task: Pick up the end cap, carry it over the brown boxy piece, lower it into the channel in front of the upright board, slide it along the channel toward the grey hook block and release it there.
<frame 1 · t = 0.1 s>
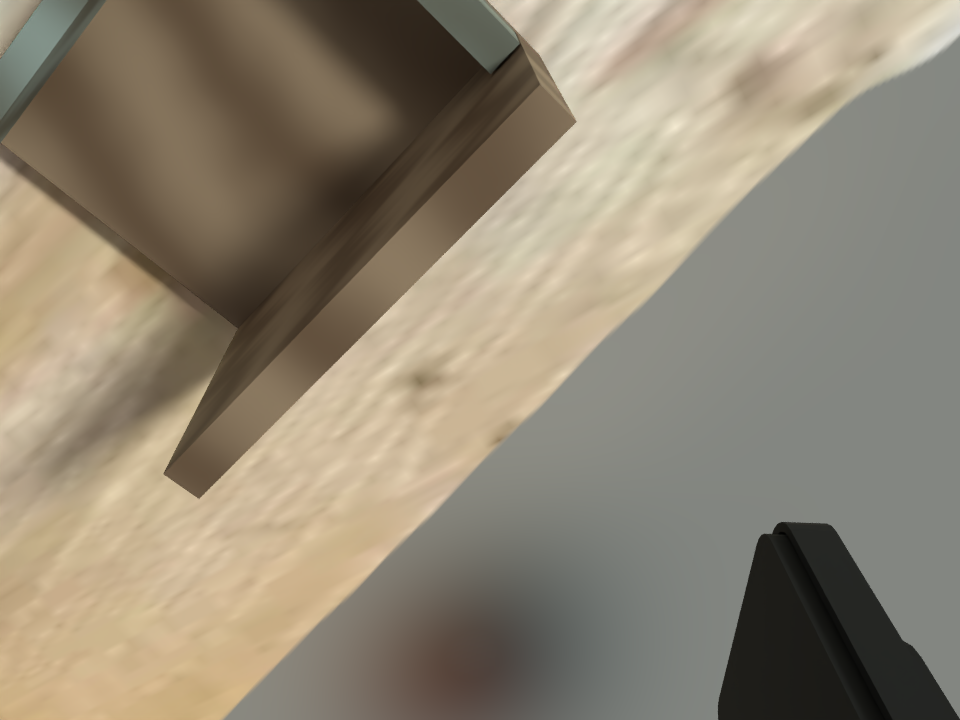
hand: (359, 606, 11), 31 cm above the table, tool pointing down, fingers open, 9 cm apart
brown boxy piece: (250, 78, 38), on the table
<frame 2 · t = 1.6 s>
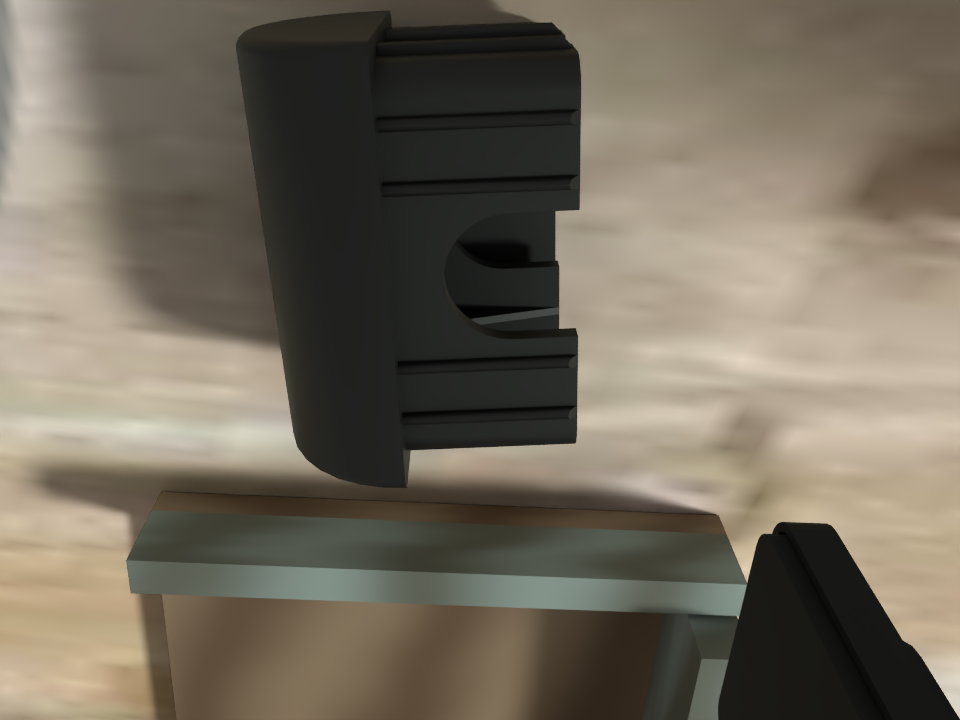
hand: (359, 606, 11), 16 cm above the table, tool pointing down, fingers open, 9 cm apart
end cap: (424, 198, 25), on the table
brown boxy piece: (434, 665, 33), on the table
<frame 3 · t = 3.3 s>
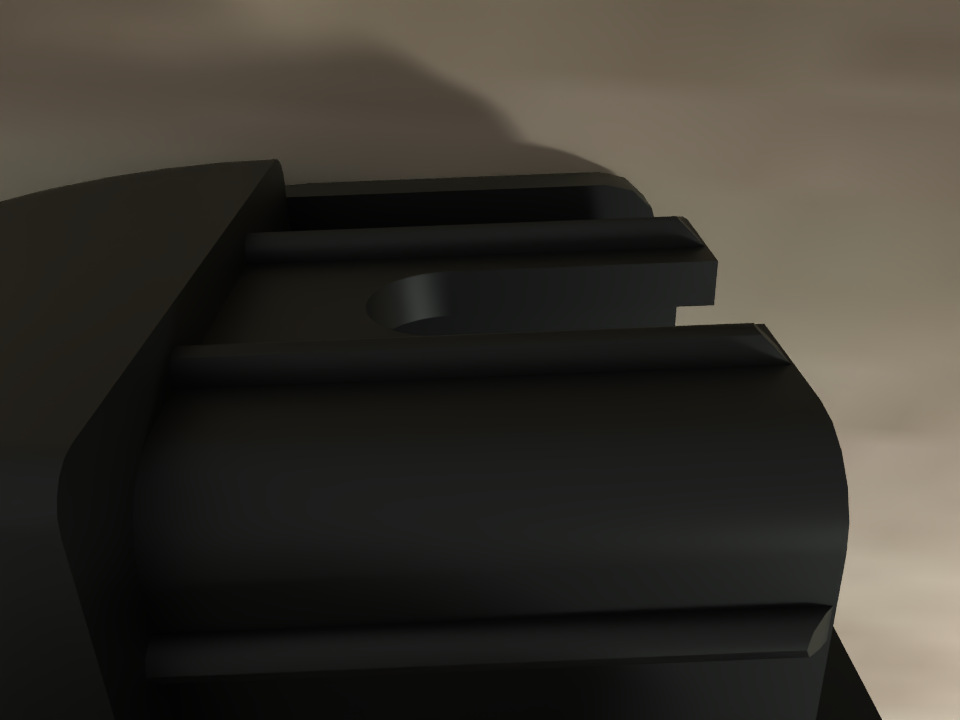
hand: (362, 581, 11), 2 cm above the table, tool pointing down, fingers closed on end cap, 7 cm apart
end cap: (373, 497, 13), on the table, touching gripper
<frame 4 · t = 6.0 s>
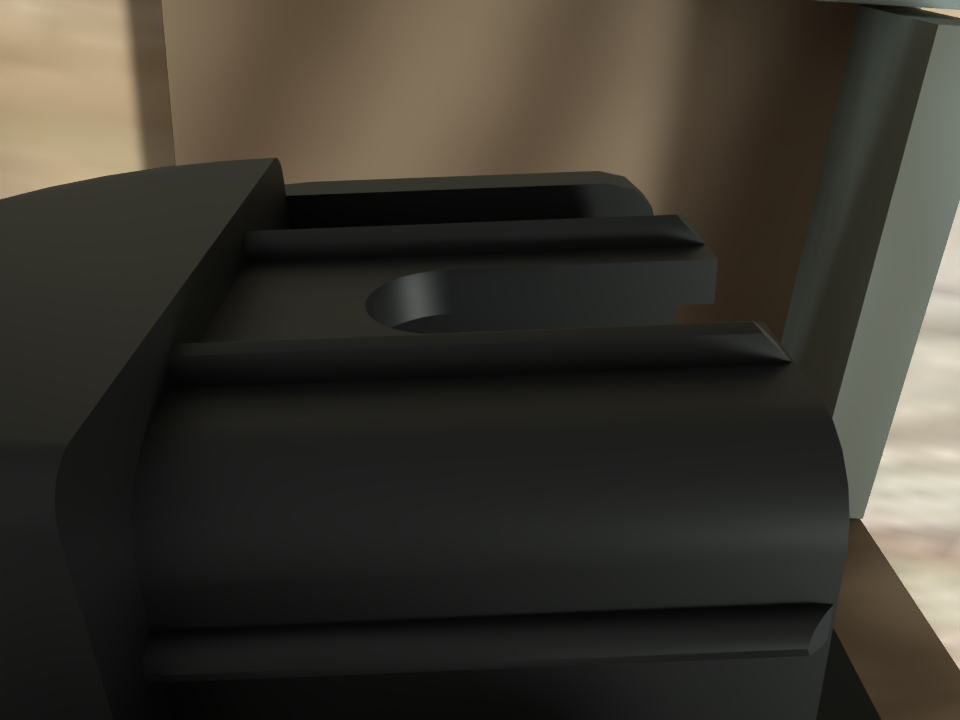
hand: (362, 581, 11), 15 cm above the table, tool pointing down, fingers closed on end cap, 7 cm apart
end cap: (373, 496, 13), point 14 cm above the table, touching gripper
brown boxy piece: (524, 203, 25), on the table
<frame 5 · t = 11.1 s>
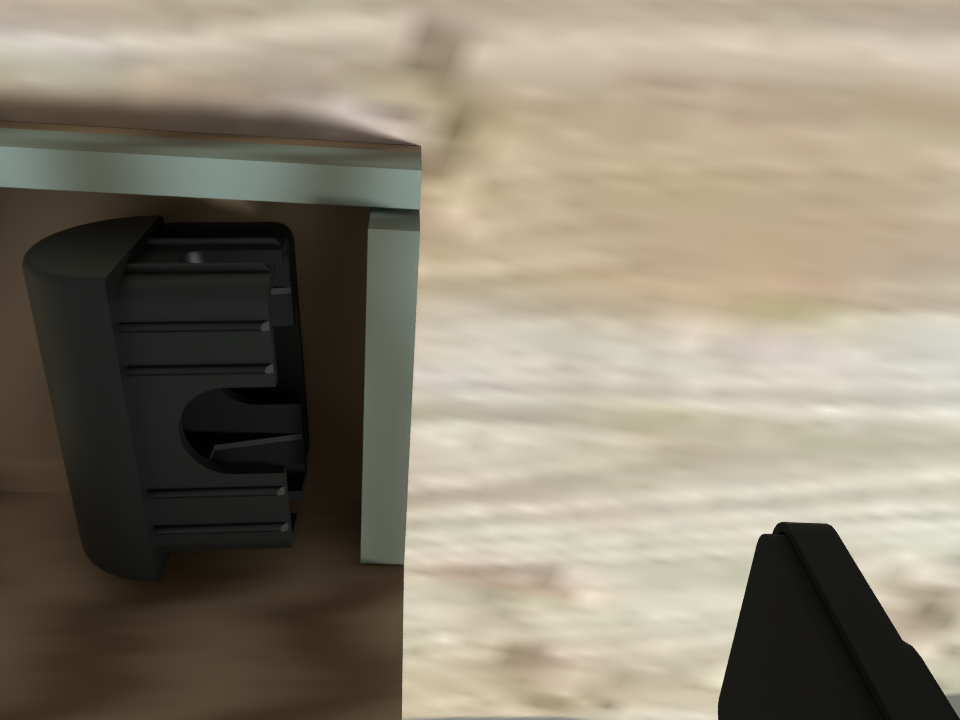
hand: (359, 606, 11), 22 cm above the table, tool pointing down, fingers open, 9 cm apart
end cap: (201, 343, 32), point 1 cm above the table, touching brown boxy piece
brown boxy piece: (159, 327, 33), on the table
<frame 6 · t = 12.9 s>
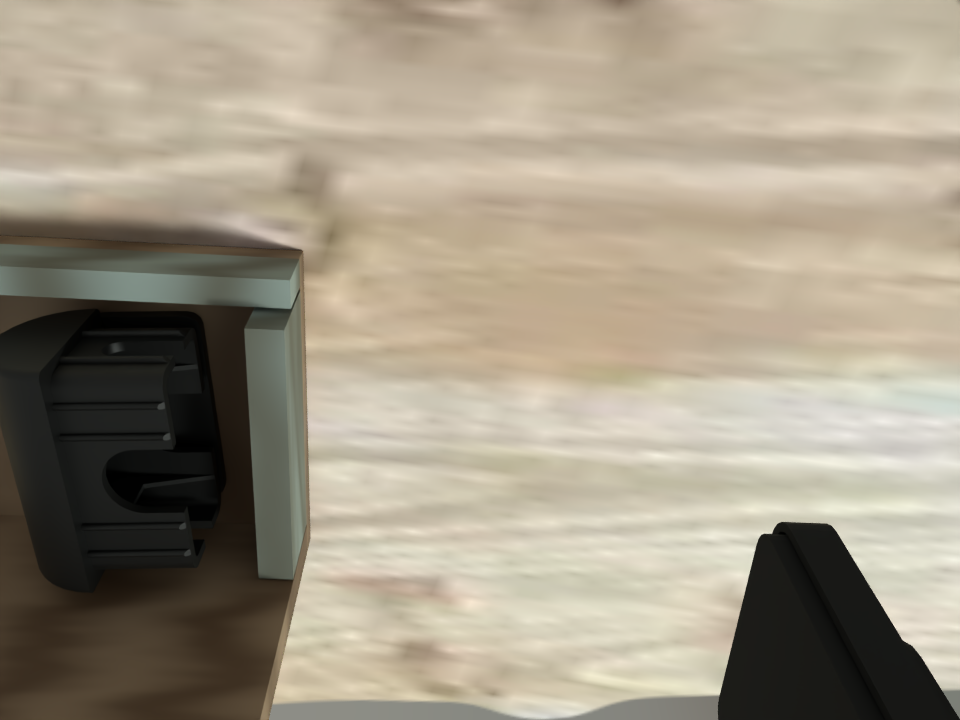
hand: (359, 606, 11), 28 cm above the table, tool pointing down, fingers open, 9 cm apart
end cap: (136, 402, 40), point 1 cm above the table, touching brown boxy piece
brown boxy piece: (105, 387, 41), on the table
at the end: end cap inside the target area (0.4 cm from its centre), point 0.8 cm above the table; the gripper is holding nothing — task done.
